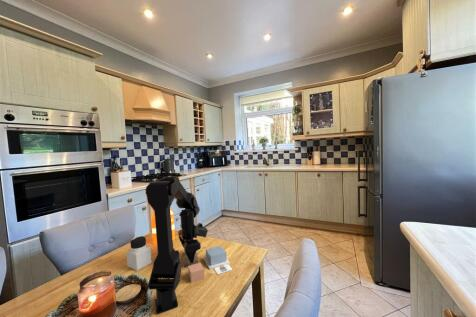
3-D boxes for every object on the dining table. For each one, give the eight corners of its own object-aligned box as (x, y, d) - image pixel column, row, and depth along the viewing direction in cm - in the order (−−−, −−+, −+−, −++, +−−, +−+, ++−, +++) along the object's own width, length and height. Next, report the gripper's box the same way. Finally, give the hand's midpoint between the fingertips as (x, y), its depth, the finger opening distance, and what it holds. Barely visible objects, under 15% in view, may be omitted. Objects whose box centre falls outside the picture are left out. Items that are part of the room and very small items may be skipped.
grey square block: (229, 263, 87) (229, 252, 87) (209, 269, 83) (209, 258, 83) (222, 254, 95) (221, 244, 95) (203, 259, 91) (203, 248, 91)
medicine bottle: (152, 262, 90) (150, 236, 90) (137, 271, 84) (135, 243, 84) (142, 258, 94) (140, 233, 94) (127, 266, 88) (125, 239, 87)
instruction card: (232, 269, 82) (232, 268, 82) (217, 274, 80) (217, 273, 80) (228, 264, 86) (228, 263, 86) (214, 268, 84) (214, 267, 84)
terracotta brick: (204, 278, 78) (203, 268, 77) (191, 283, 75) (190, 272, 75) (200, 272, 82) (200, 262, 82) (188, 275, 80) (187, 266, 80)
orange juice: (167, 245, 107) (165, 207, 106) (152, 244, 109) (150, 207, 108) (175, 238, 114) (173, 203, 113) (161, 237, 116) (159, 203, 115)
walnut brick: (198, 264, 88) (197, 255, 88) (183, 267, 86) (183, 258, 86) (195, 257, 94) (194, 249, 93) (181, 260, 91) (181, 252, 91)
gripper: (211, 226, 84) (213, 263, 85) (200, 214, 101) (201, 244, 101) (184, 232, 79) (186, 271, 80) (176, 218, 96) (178, 250, 97)
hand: (189, 257), depth 89 cm, fingers open, 9 cm apart
